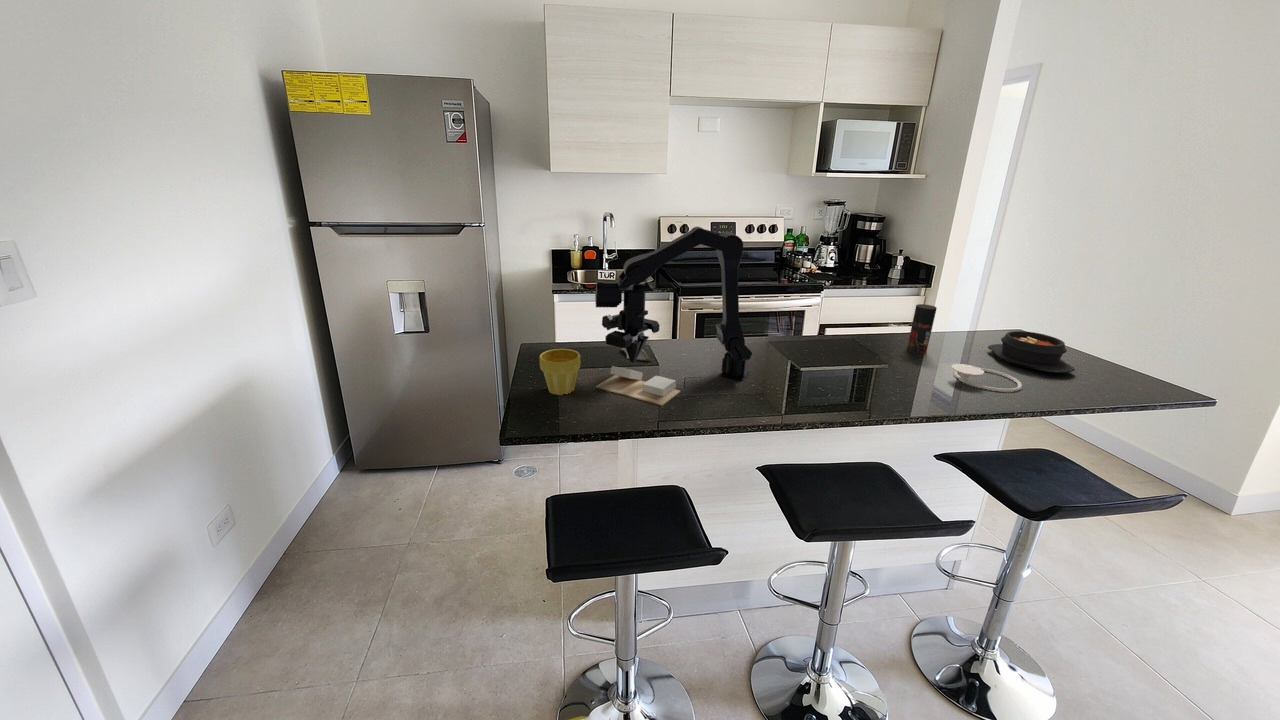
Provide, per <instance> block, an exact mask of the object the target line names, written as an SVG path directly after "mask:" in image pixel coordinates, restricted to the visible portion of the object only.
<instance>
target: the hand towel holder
mask: <svg viewBox="0 0 1280 720" xmlns="http://www.w3.org/2000/svg"><path fill="white" fill-rule="evenodd" d="M951 368H952V370H953V374H954V378H956V377H957V378H958V379H959V380H958V379H957V378H956V379H957V380H958V381H959V382H960V381H961V382H963V383H962V384H964V383H967V384H966V385H968V384H970V385H973V386H976V387H979V388H978V389H980V388H983V389H982V390H984V389H987V390H986V391H989V390H992V391H991V392H995V391H999V392H998V393H1015V392H1018V390H1019V391H1020V390H1022V388H1023V384H1022V383H1021V381H1020V380H1018V379H1017V378H1015V377H1013V376H1012V375H1010V374H1006V373H1005V372H1001V371H998V370H993V369H990V368H983V367H978V366H974V365H971V364H966V363H965V364H964V363H963V364H962V363H953V364H952V365H951ZM984 371H989V372H993V373H996V374H999V375H998V376H1000V375H1002V376H1001V377H1003V376H1005V377H1007V378H1006V379H1008V378H1009V379H1008V380H1010V379H1011V380H1010V381H1012V380H1013V381H1012V382H1014V383H1015V382H1016V383H1017V384H1016V383H1015V384H1016V385H1017V387H1013V388H1000V387H993V386H987V385H983V384H978V383H975V382H972V381H970V380H969V377H971V376H972V377H978V376H979V377H981V376H982V375H984V373H985V372H984ZM993 373H992V374H993ZM959 374H961V375H962V376H960V375H959ZM996 374H995V375H996ZM1005 377H1004V378H1005ZM961 382H960V383H961ZM970 385H969V386H970ZM973 386H972V387H973ZM976 387H975V388H976ZM1014 391H1015V392H1014Z"/></svg>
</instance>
